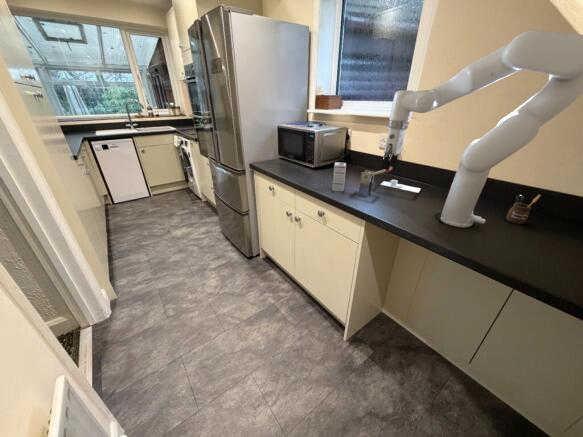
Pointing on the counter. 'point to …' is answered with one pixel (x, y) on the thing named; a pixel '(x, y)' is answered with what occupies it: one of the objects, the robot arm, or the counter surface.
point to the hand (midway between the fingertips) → (388, 166)
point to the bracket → (366, 183)
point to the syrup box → (339, 176)
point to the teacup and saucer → (400, 186)
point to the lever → (381, 171)
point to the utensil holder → (520, 211)
